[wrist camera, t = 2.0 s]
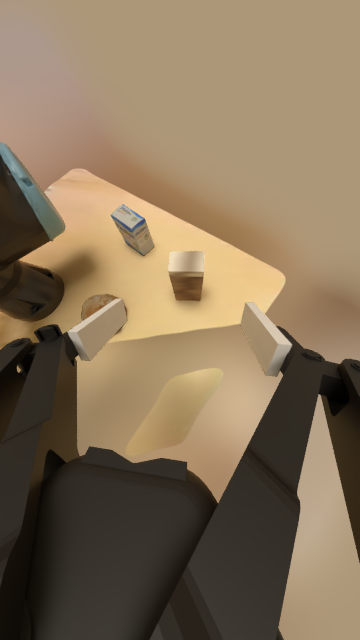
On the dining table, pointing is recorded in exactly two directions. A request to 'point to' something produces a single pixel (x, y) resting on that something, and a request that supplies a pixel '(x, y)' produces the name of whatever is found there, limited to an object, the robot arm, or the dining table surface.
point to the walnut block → (186, 274)
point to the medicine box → (133, 229)
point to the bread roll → (96, 304)
